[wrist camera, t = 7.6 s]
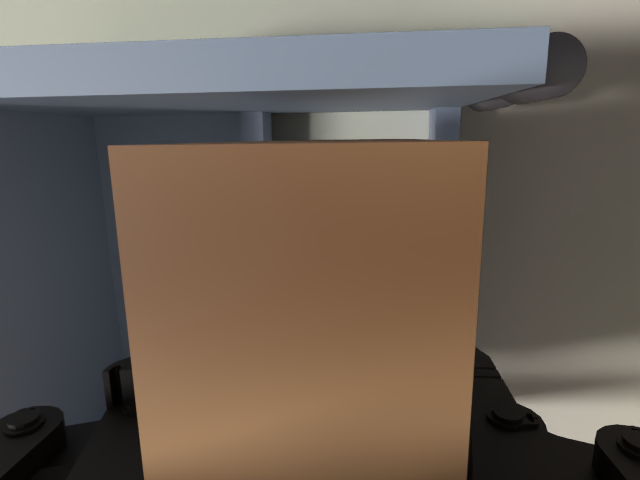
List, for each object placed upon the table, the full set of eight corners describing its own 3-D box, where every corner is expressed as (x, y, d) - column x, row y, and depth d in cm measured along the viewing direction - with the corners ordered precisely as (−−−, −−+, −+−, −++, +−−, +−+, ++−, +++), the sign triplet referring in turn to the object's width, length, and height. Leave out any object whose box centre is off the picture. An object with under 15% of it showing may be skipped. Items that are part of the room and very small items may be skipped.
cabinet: (469, 407, 24) (553, 622, 14) (114, 394, 26) (-58, 575, 15) (490, 76, 21) (628, 12, 10) (75, 87, 22) (-188, 44, 12)
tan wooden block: (274, 140, 15) (107, 145, 5) (433, 138, 14) (593, 139, 5) (285, 466, 17) (189, 891, 8) (420, 473, 17) (503, 932, 7)
